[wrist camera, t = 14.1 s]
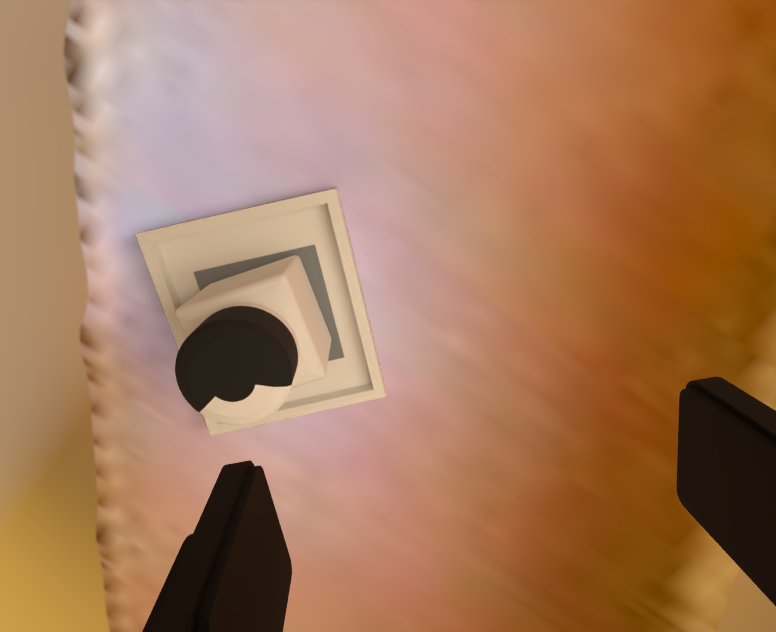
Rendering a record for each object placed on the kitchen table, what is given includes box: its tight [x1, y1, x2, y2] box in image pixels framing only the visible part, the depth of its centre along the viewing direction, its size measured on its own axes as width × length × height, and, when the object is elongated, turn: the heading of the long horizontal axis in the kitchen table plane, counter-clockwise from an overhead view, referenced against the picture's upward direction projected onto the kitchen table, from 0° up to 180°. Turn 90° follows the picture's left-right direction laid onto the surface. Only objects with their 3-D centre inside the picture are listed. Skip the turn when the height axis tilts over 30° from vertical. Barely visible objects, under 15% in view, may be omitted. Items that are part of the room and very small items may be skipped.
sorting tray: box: [135, 188, 386, 436], centre depth 36 cm, size 16×14×2 cm
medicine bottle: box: [175, 255, 331, 425], centre depth 30 cm, size 7×7×12 cm
